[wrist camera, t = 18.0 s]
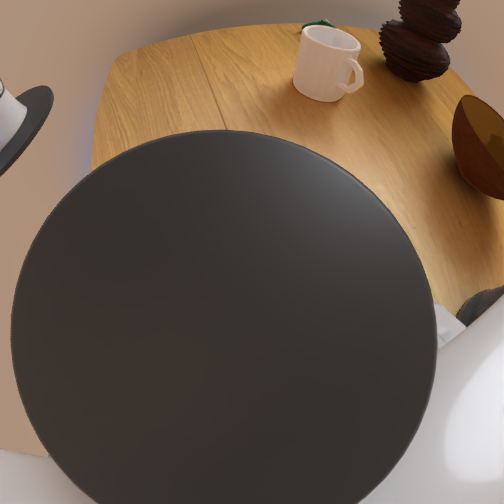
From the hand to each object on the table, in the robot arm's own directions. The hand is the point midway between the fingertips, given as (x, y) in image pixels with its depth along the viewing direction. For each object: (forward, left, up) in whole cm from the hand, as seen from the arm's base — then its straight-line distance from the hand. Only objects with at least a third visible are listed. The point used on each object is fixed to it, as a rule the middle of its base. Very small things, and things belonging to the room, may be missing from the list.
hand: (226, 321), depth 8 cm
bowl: (+41, +13, -17) cm, 46 cm away
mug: (+19, +29, -17) cm, 39 cm away
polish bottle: (0, -1, -7) cm, 7 cm away
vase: (+42, +39, -17) cm, 60 cm away
